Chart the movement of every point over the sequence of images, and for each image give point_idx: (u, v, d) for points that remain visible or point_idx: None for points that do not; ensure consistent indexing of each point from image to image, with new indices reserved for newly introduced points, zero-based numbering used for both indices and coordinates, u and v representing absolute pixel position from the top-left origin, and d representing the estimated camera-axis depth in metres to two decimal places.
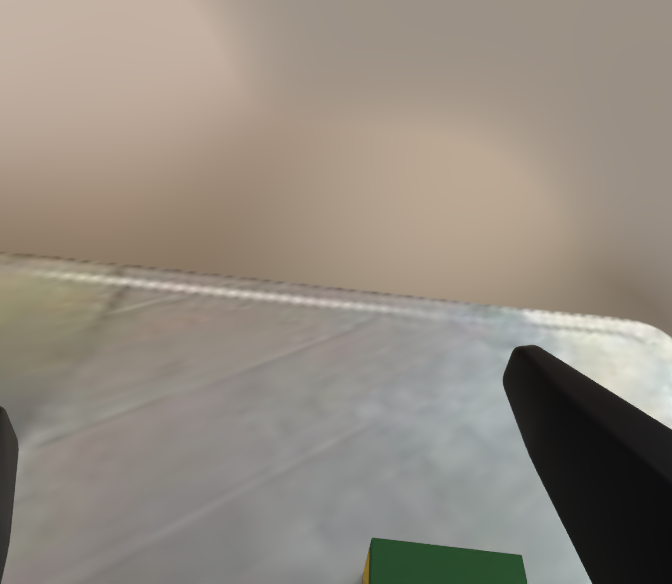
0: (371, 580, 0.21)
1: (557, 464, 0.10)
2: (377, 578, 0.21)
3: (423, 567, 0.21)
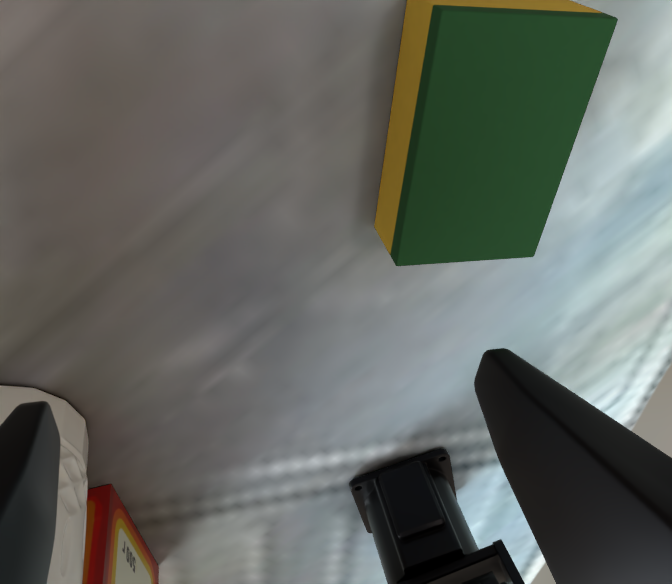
0: (431, 70, 0.17)
1: (525, 469, 0.10)
2: (439, 67, 0.17)
3: (496, 47, 0.17)
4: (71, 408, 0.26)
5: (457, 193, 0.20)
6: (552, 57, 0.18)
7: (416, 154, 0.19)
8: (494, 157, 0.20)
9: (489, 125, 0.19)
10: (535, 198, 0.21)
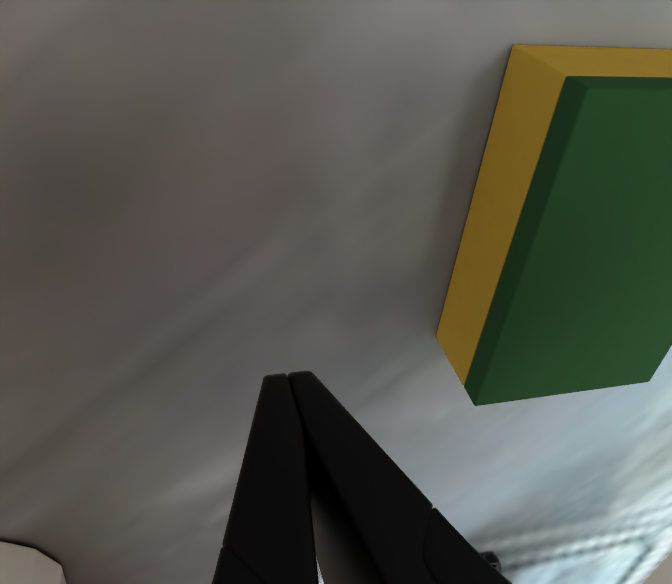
0: (558, 170, 0.12)
1: (311, 507, 0.09)
2: (570, 166, 0.12)
3: (654, 136, 0.12)
4: (43, 558, 0.20)
5: (567, 319, 0.15)
6: None
7: (520, 277, 0.13)
8: (623, 274, 0.14)
9: (625, 236, 0.13)
10: (666, 318, 0.16)
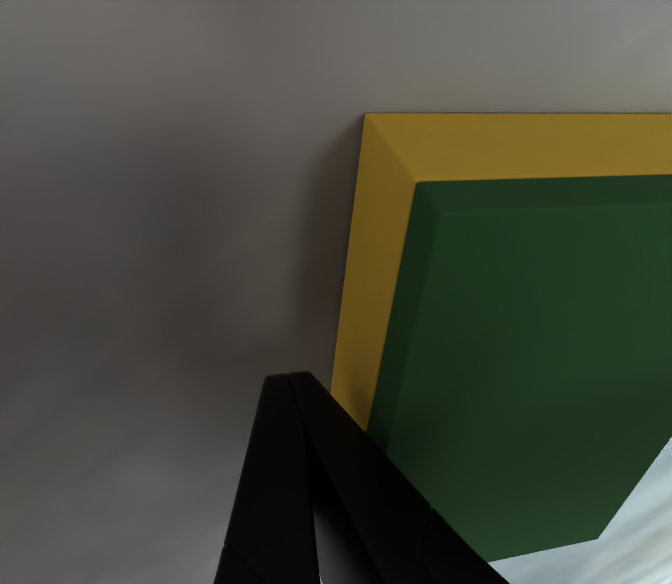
0: (414, 326, 0.07)
1: None
2: (432, 321, 0.07)
3: (566, 273, 0.07)
4: None
5: (467, 494, 0.10)
6: None
7: None
8: (544, 439, 0.10)
9: (538, 397, 0.09)
10: (613, 477, 0.11)
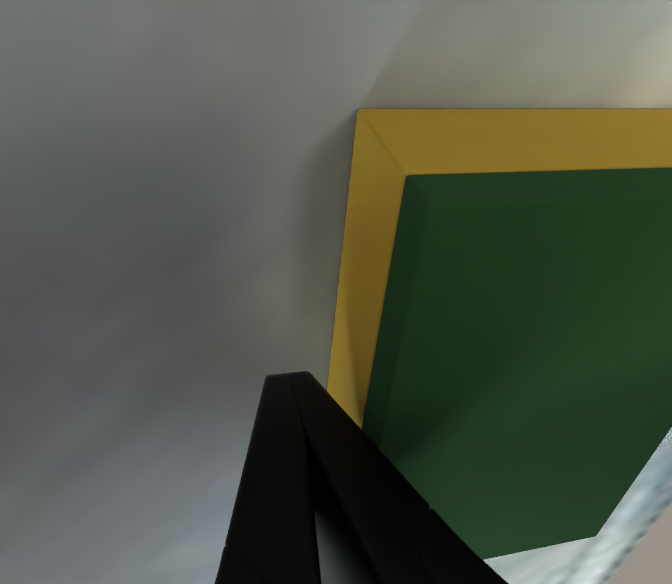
0: (404, 319, 0.07)
1: None
2: (422, 314, 0.07)
3: (557, 266, 0.07)
4: None
5: (462, 489, 0.10)
6: None
7: None
8: (538, 434, 0.10)
9: (532, 392, 0.09)
10: (609, 473, 0.11)
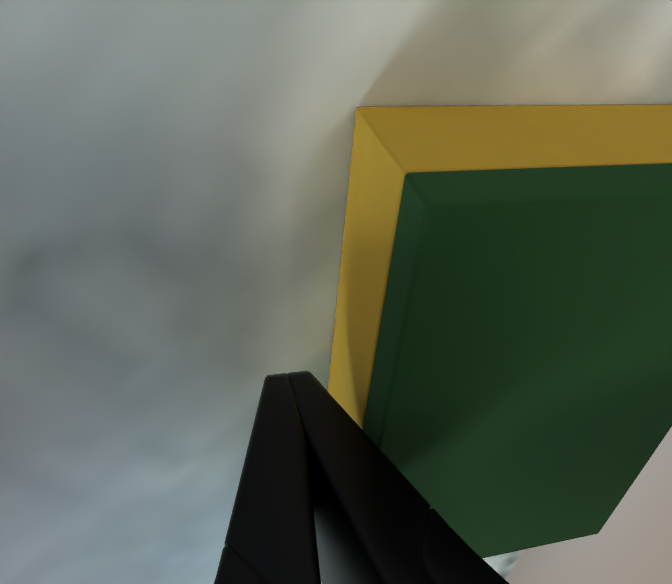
0: (405, 317, 0.07)
1: None
2: (423, 313, 0.07)
3: (558, 263, 0.07)
4: None
5: (464, 487, 0.10)
6: None
7: None
8: (540, 431, 0.10)
9: (533, 389, 0.09)
10: (611, 470, 0.11)
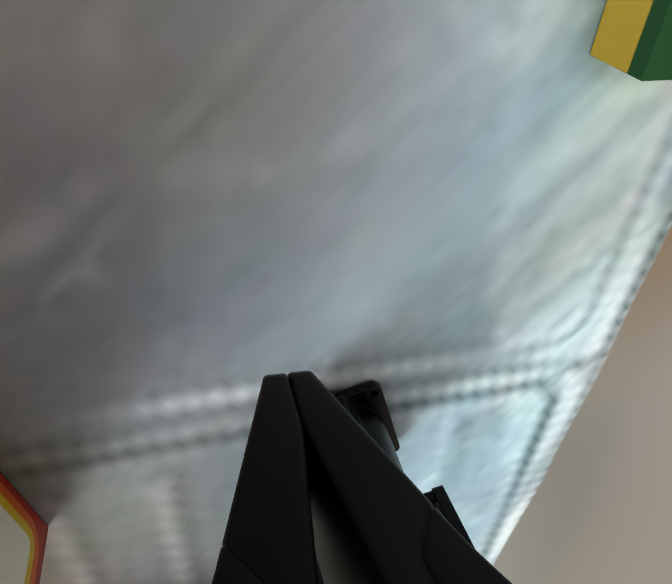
0: None
1: (311, 507, 0.09)
2: None
3: None
4: None
5: None
6: None
7: None
8: None
9: None
10: None
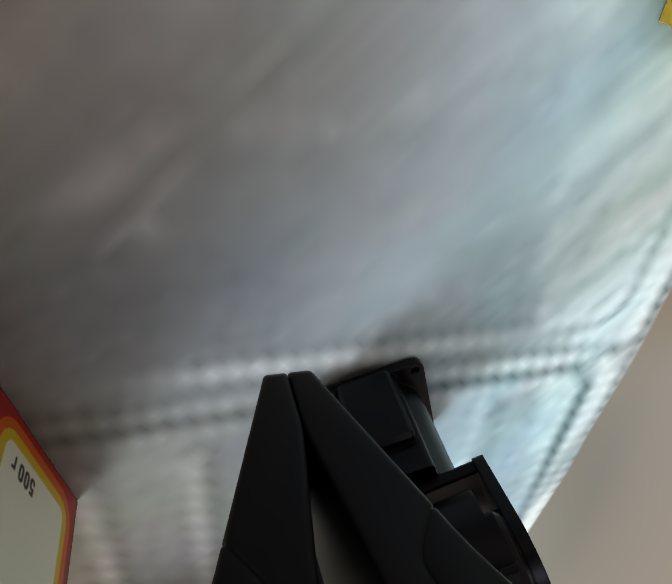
0: None
1: (311, 507, 0.09)
2: None
3: None
4: None
5: None
6: None
7: None
8: None
9: None
10: None
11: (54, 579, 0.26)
